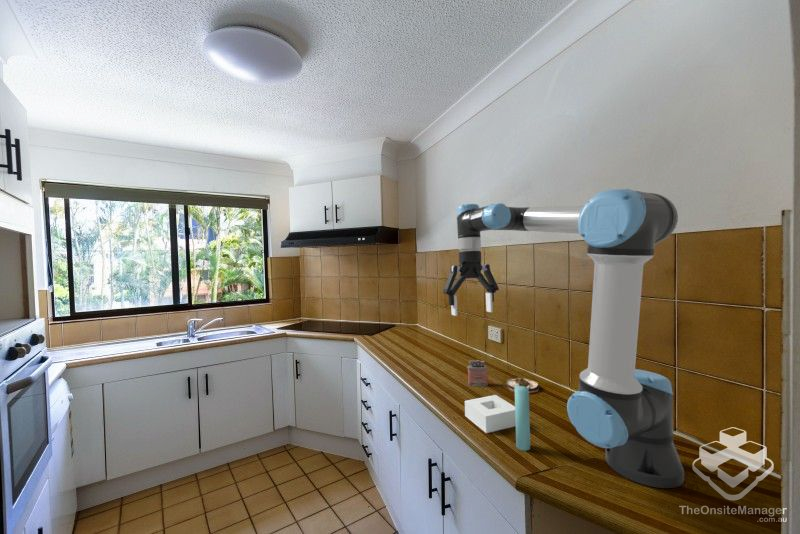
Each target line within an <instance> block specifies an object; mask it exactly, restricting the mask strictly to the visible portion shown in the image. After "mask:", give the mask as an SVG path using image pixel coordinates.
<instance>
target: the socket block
mask: <svg viewBox="0 0 800 534" xmlns="http://www.w3.org/2000/svg"><path fill="white" fill-rule="evenodd" d="M464 416H465V417H466V418H467V419H468V420H469V421H471V422H472V423H473V424H475V425H476V426H477V427H478V428H479V429H480V430H482V432H484V433H485V434H489V433H493V432H496V431H497V432H498V431H501V430H502V431H503V430H506V429H509V428H513V427H515V428H516V421H515V405H513V404H511V403H510V402H509V401H506V400H505V399H503V398H502V397H500V396H498V395H497V394H493V395H488V396H487V395H486V396H483V397H477V398H471V399H469V400H468V399H467V400H464Z"/></svg>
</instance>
